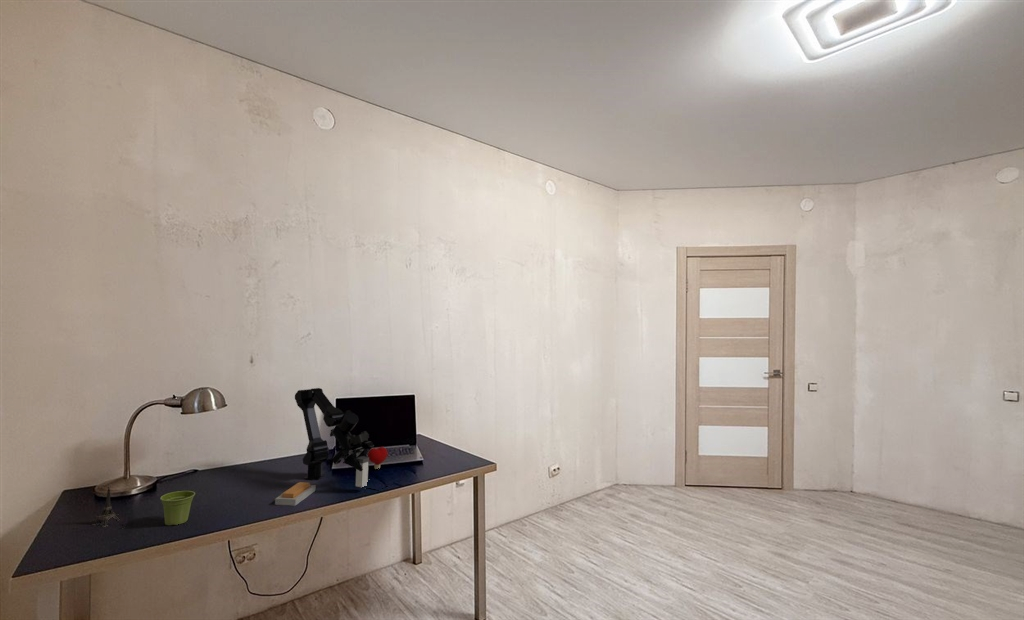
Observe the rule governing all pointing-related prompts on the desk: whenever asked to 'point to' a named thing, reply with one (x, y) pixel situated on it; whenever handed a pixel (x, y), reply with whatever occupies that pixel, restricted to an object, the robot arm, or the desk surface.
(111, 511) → the eiffel tower figurine
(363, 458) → the white tall block
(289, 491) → the button
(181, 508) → the plant pot
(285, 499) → the button housing
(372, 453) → the red heart figurine
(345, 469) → the desk surface
